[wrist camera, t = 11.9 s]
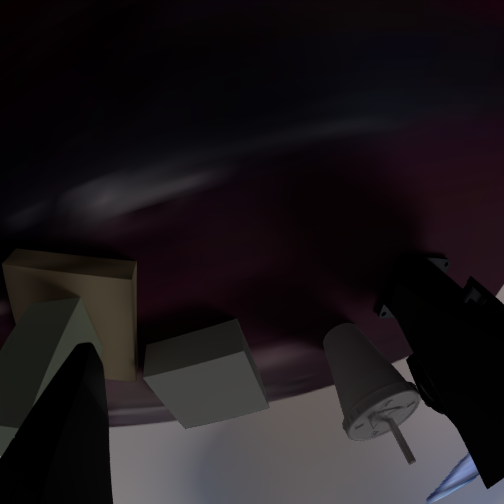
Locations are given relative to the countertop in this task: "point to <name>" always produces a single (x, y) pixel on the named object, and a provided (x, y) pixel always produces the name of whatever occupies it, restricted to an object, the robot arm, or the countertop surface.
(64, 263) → the oak block
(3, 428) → the sage block
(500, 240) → the countertop surface
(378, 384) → the smoothie
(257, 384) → the grey tile block
